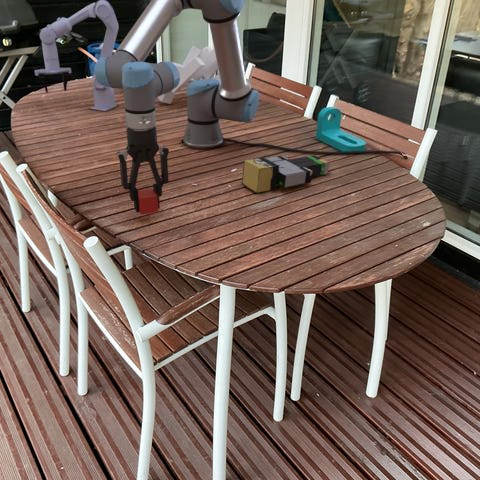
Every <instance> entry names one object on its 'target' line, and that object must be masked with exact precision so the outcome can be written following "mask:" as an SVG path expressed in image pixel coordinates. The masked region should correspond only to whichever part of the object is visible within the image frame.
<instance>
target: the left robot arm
mask: <svg viewBox="0 0 480 480" xmlns="http://www.w3.org/2000/svg"><path fill="white" fill-rule="evenodd" d="M87 18H99V19H100V20H101V21H102V22H103V24H104V25H105V27H106V28H105V29H106V30H105V35H104V38H103V42H102V45H101V50H100V55H99V59H100V58H103V57H109V58H111V57H112V56H113V53H114V48H115V45H116V44H115V43H116V41H117V40H116V39H117V36H118V32H119V22H118V20H117V16H116V14H115V10H114V8H113V6H112V5H111V3H109V1H108V0H97V1H96V2H92V3H89V4H88V5H86V6H85V7H84V8H82V9H80V10H79V11H77V12H76V13H74V14H72V15H71V16H70V17H68V18H66V17H64V16H62V17H58V18H56V21H54V22H52V23H51V24H47V25H46V27H44V28H42V29H41V31H40V33H39V39H40V41H41V46H42V48H41V49H42V54H43V60H44V61H43V62H44V67H45V68H40V69H35V70H34V75H35V76H37V77H38V78H39V81H41V83H42V86H43V87H44V90H45V94H46V93H49V90H48V86H47V79H46V75H61V76H62V77H61V78H62V83H63V90H64V92H67V88H68V87H67V86H68V81H69V79H70V74H72V68H71V67H60V60H59V54H58V47H57V43H56V39H60V38H62V37H63V36H64V35H67V34H68V33H70V32H71V31H72V28H73V26H74V25H76V24H77V25H78V23H80V22H82V21H84V20H86V19H87ZM99 59H98V60H99ZM92 85H93V86H92V94H93V95H92V96H93V104H94V105H93V106H91V107H90V109H91V110H95V111H96V110H97V111H103V112H106V111H109V110H111V109H113V108H115V107H117V106H118V104H116V95H115V90H114V88H111V87H106V86H103V85H101V84H99V83H98V81H97V79H96V77H95V72H94V71H93V73H92Z"/></svg>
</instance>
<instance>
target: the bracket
mask: <svg viewBox="0 0 480 480" xmlns="http://www.w3.org/2000/svg"><path fill="white" fill-rule="evenodd" d="M341 122H342V111H341V110H340V109H339V108H336V107H334V106H327V107H324V108H322V109H321V110H320V111H319V112H318V115H317V121H316V123H317V124H316V130H315V139H316V140H319V141H320V142H322V143H325V144H327V145H328V146H331V147H333V148H335V149H337V150H339V151H340V152H346V151H366V146H367V145H366V144H367V141H365V140H363V139H361V138H359V137H356V136H355V135H352V134H350V133H348V132H345V131H343V130H341Z"/></svg>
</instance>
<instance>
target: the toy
mask: <svg viewBox="0 0 480 480" xmlns="http://www.w3.org/2000/svg"><path fill="white" fill-rule="evenodd" d="M329 169H330V161H327V160H325V159H323V158H321V157H319V156H317V155H316V154H315V155H308V156H301V157H296V158H295V157H294V158H288V157H287V156H284V155H278V156H271V157H259V158H252V159H244V161H243V168H242V178H241V185H243V186H244V187H246V188H248V189H249V190H251V191H253V192H254V193H256V194H258V193H265V192H268V191H269V192H270V191H273V190H277V185H278V186H279V187H281V188H283V189H286V188H292V187H297V186H303V185H307V184H311V183H312V178H315V177H321V176H325V175H328V174H329V171H330V170H329Z"/></svg>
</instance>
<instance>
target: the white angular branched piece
mask: <svg viewBox="0 0 480 480" xmlns="http://www.w3.org/2000/svg"><path fill="white" fill-rule="evenodd" d="M171 63H172V64H174V65H175V66H176V67H177V69H178V71H179V74H180V82H179V84H178V86H177V87H176V88H175V89H173V90H172V91H171V92H168V93H165V94H163V95H161V96H158V97H157V99H158V100H159V101H160V102H161V103H164V104H169V105H171V104H172V102H173V99H174V97H175V95H176V93H179V92H180V91H181V90H182V89H183V88H184V87H185V86H186V85H188V84H189V83H190V81H191V80H192V79H193V81H196V80H201V79H216V80H218V81H219V83H220V84H221V80H220V75H219V73H218V74H216V73H217V71H218V65H217V60H216V55H215V50H214V48H213V49H212V48H211V47H210V46H204V47H203V48H202V49H200V48H199V47H197V46H195V45H192V46H191V48H190V49H189V51H188V53H187V55H186V57H185V59H184V61H183V63H182V64H181V63H178V62H174V61H171ZM220 84H219V85H220Z"/></svg>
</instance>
